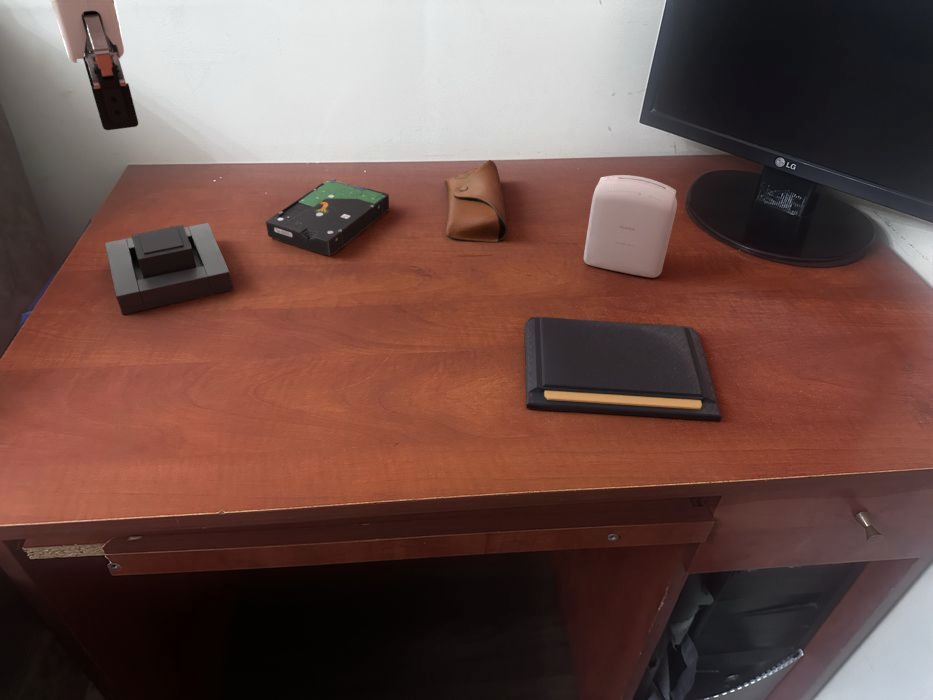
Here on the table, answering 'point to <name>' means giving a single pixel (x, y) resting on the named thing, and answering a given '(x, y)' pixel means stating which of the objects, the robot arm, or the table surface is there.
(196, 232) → the docking pad
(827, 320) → the table surface
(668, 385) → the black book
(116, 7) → the robot arm
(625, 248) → the photo printer
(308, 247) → the disk drive
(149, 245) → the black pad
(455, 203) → the sunglasses case
